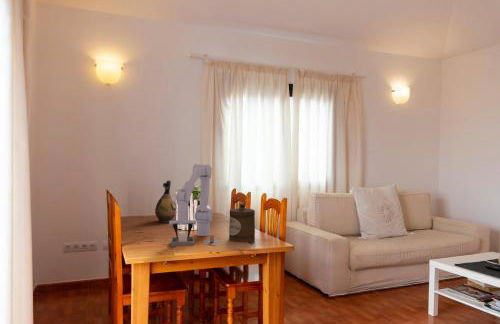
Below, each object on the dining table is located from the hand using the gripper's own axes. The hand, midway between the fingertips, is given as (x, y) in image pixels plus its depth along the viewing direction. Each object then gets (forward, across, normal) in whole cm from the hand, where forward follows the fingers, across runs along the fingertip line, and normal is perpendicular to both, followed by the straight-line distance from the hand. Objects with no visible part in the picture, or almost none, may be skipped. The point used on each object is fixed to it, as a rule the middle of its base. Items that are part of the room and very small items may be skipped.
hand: (182, 237), depth 218 cm
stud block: (+4, +16, -1) cm, 16 cm away
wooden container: (+4, +34, +5) cm, 35 cm away
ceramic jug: (+4, -10, +77) cm, 78 cm away
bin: (+4, 0, 0) cm, 4 cm away
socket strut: (+3, 0, 0) cm, 3 cm away
